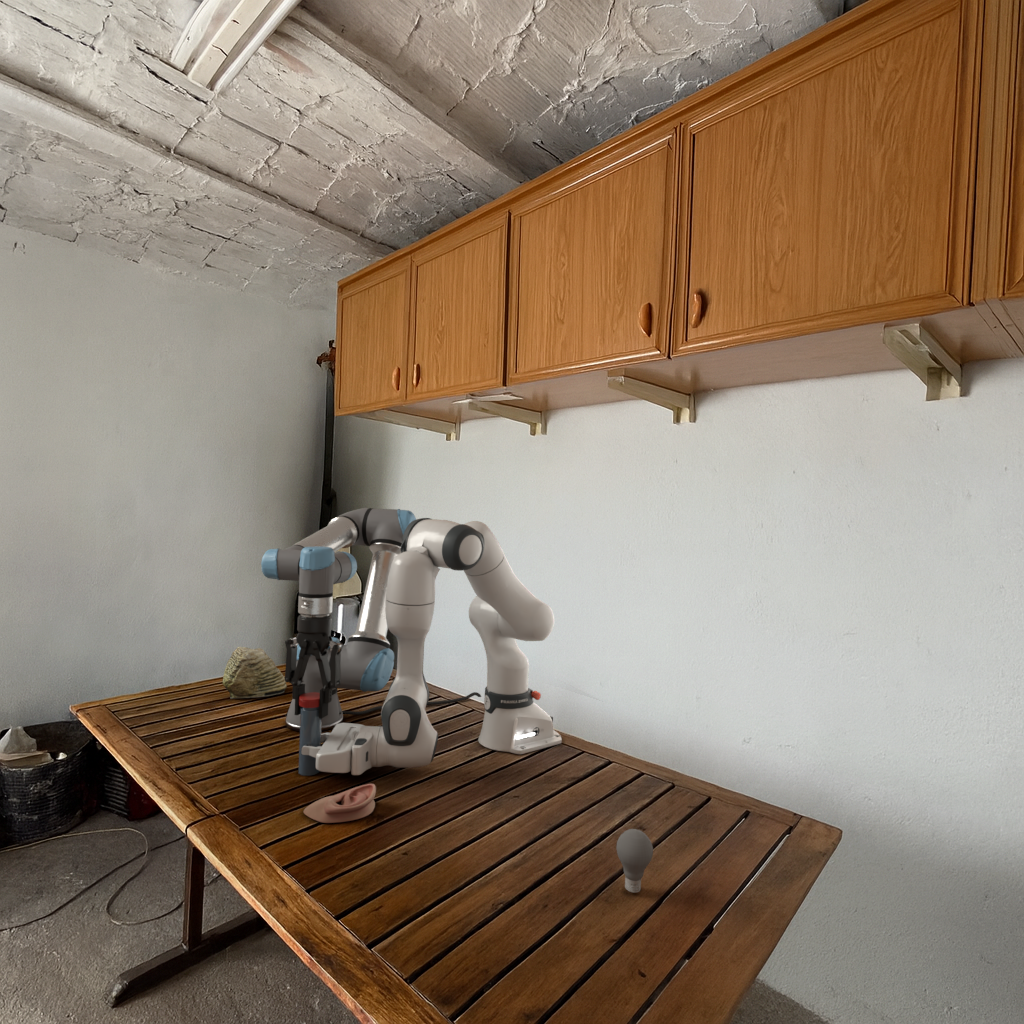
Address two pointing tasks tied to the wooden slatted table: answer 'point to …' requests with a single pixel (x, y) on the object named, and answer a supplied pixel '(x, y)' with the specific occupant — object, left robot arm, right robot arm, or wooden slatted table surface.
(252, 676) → the fossil
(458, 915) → the wooden slatted table surface
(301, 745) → the blue grey capped cylinder
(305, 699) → the lid
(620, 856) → the light bulb
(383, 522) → the left robot arm
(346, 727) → the right robot arm
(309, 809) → the anatomical model
